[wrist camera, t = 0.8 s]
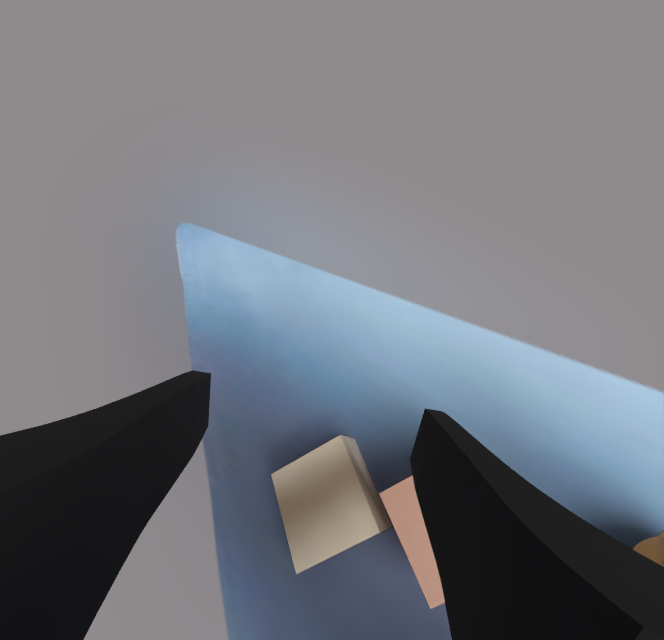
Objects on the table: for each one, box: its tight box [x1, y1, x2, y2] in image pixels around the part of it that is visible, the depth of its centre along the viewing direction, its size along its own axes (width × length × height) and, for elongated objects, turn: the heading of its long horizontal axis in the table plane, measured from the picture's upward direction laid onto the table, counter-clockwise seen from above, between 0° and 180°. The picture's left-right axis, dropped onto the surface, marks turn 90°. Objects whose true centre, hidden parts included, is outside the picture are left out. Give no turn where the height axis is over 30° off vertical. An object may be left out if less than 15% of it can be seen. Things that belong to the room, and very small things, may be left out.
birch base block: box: [271, 435, 392, 574], centre depth 21 cm, size 6×6×3 cm
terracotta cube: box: [379, 475, 445, 609], centre depth 17 cm, size 5×5×5 cm
